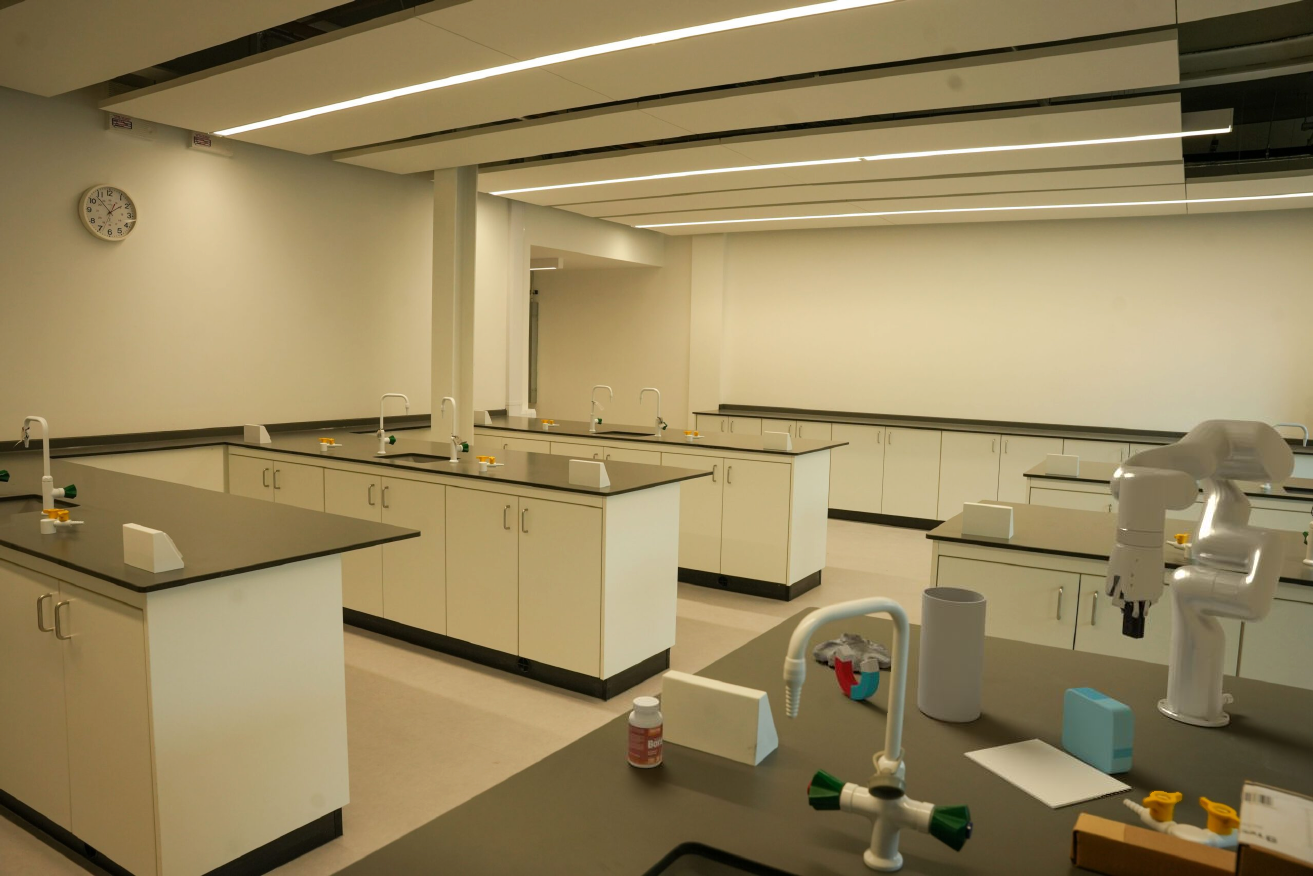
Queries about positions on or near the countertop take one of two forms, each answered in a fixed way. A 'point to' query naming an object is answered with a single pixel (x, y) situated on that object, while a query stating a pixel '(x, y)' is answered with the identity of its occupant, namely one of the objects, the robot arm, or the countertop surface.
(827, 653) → the fossil
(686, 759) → the countertop surface
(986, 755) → the mat
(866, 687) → the magnet
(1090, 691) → the data package
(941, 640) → the cylinder vase
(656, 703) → the pill bottle
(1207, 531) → the robot arm
